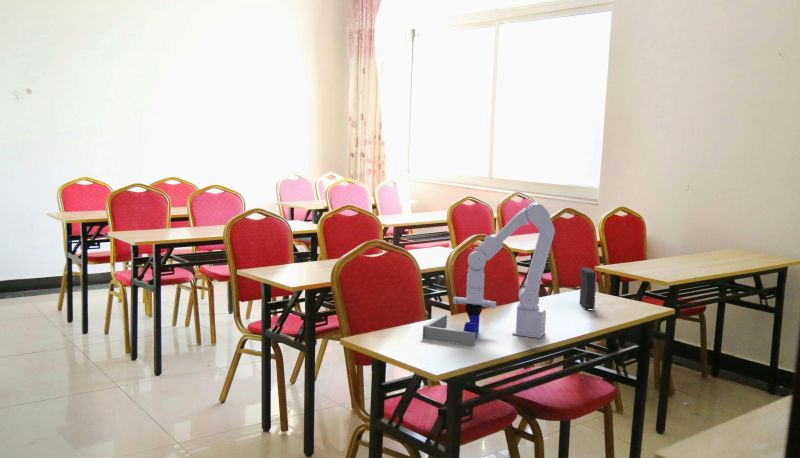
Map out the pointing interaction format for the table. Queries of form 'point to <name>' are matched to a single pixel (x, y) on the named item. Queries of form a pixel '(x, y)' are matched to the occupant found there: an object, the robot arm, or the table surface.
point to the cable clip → (472, 325)
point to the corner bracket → (447, 333)
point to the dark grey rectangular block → (587, 288)
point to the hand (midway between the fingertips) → (473, 326)
